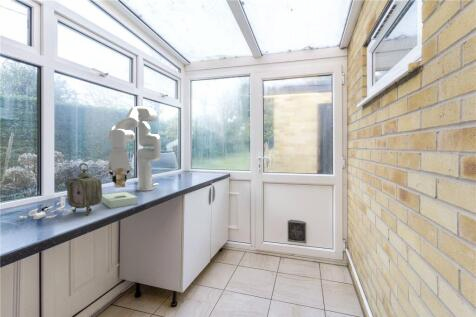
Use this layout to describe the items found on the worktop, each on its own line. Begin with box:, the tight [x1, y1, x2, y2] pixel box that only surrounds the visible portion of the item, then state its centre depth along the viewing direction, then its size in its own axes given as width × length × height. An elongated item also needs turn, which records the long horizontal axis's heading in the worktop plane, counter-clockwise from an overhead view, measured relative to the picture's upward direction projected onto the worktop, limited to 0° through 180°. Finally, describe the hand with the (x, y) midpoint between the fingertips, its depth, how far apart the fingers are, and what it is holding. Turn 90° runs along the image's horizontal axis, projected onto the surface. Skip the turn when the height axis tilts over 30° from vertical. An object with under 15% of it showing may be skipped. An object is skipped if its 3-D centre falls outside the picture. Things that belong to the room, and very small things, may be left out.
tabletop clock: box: [66, 162, 103, 216], centre depth 114 cm, size 14×9×25 cm, turn 64°
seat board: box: [100, 191, 138, 209], centre depth 134 cm, size 14×20×4 cm
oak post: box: [113, 168, 126, 188], centre depth 131 cm, size 4×4×11 cm
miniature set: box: [18, 196, 75, 220], centre depth 119 cm, size 6×35×12 cm
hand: (119, 182), depth 131 cm, fingers closed on oak post, 4 cm apart
